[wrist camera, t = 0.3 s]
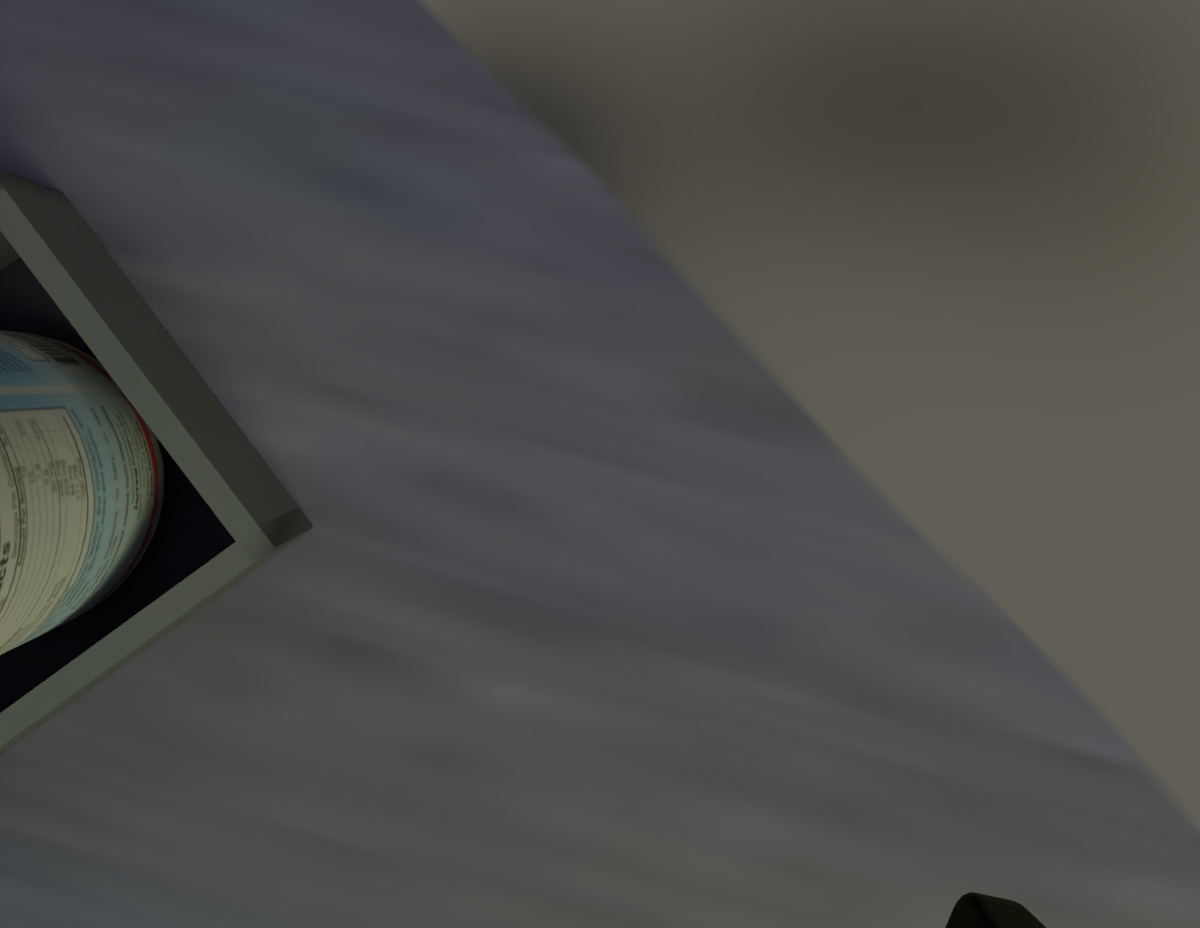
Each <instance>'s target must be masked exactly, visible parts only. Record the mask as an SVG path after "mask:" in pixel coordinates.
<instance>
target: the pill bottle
mask: <svg viewBox="0 0 1200 928" xmlns="http://www.w3.org/2000/svg"><path fill="white" fill-rule="evenodd" d="M163 498H164V468H163V460H162V455H161V451H160V447H159V443H158V440H157V437H156V435H155V434H154V433H153V431H152V430H151V429H150V427H149V426H148V425H147V424H146V422H145V421H144V420H143V418H142V417H141V416H140V414H139V413H138V412H137V410H136V409H135V408H134V406H133V405H132V404H131V402H130V401H129V400H128V398H127V397H126V396H125V394H124V393H123V392H122V390H121V389H120V388H119V387H118V385H117V384H116V383H115V381H114V380H113V379H112V377H111V376H110V375H109V373H108V372H107V371H106V369H105V368H104V367H103V365H102V364H101V363H100V362H99V361H98V360H96V359H95V358H93V357H92V356H90V355H89V354H87V353H85V352H83V351H81V350H79V349H77V348H75V347H73V346H71V345H69V344H66V343H64V342H61V341H58V340H55V339H51V338H48V337H44V336H40V335H35V334H30V333H21V332H13V331H5V330H0V655H1V654H3V653H5V652H7V651H9V650H11V649H13V648H16V647H18V646H20V645H22V644H24V643H26V642H28V641H30V640H32V639H34V638H36V637H38V636H40V635H42V634H44V633H46V632H48V631H51V630H53V629H55V628H57V627H59V626H61V625H63V624H65V623H68V622H69V621H71V620H73V619H75V618H77V617H79V616H80V615H82V614H84V613H86V612H87V611H89V610H91V609H92V608H94V607H95V606H97V605H98V604H99V603H101V602H102V601H104V600H105V599H106V598H107V597H108V596H109V595H110V594H112V593H113V592H114V591H115V590H116V589H117V588H118V587H119V586H120V585H121V584H122V583H123V582H124V581H125V580H126V579H127V577H128V576H129V575H130V574H131V572H132V571H133V570H134V569H135V567H136V566H137V564H138V563H139V561H140V560H141V558H142V557H143V555H144V553H145V552H146V550H147V548H148V546H149V544H150V542H151V540H152V538H153V536H154V533H155V530H156V527H157V525H158V521H159V518H160V514H161V509H162V505H163Z"/></svg>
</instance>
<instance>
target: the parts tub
mask: <svg viewBox="0 0 1200 928" xmlns="http://www.w3.org/2000/svg"><path fill="white" fill-rule="evenodd" d="M19 257H21V258H22V260H23V261H24V262H25V264H26V265H27V266H28V268H29V269H30V270H31V272H32V273H33V274H34V275H35V277H36V278H37V279H38V281H39V282H40V283H41V285H42V286H43V287H44V289H45V290H46V291H47V293H48V294H49V295H50V297H51V298H52V299H53V301H54V302H55V303H56V305H57V306H58V307H59V309H60V310H61V311H62V312H63V314H64V315H65V316H66V318H67V319H68V320H69V322H70V323H71V324H72V326H73V327H74V328H75V330H76V331H77V332H78V334H79V335H80V336H81V338H82V339H83V340H84V342H85V343H86V344H87V346H88V347H89V348H90V350H91V351H92V352H93V353H94V355H95V356H96V357H97V359H98V360H99V361H100V363H101V364H102V365H103V367H104V368H105V369H106V371H107V372H108V373H109V375H110V376H111V377H112V379H113V380H114V381H115V383H116V384H117V385H118V387H119V388H120V389H121V390H122V392H123V393H124V394H125V396H126V397H127V398H128V400H129V401H130V402H131V404H132V405H133V406H134V408H135V409H136V410H137V412H138V413H139V414H140V416H141V417H142V418H143V420H144V421H145V422H146V424H147V425H148V426H149V427H150V429H151V430H152V431H153V433H154V434H155V435H156V437H157V438H158V439H159V441H160V442H161V443H162V445H163V446H164V447H165V449H166V450H167V451H168V453H169V454H170V455H171V457H172V458H173V459H174V461H175V462H176V463H177V465H178V466H179V467H180V468H181V470H182V471H183V472H184V474H185V475H186V476H187V478H188V479H189V480H190V482H191V483H192V484H193V486H194V487H195V488H196V490H197V491H198V492H199V494H200V495H201V496H202V498H203V499H204V500H205V502H206V503H207V504H208V505H209V507H210V508H211V509H212V511H213V512H214V513H215V515H216V516H217V517H218V519H219V520H220V521H221V523H222V524H223V525H224V527H225V528H226V529H227V531H228V532H229V533H230V535H231V536H232V537H233V539H234V540H235V541H236V542H235V543H233V544H232V545H231V546H229V547H228V548H227V549H225V550H224V551H222V552H221V553H220V554H218V555H217V556H216V557H214V558H213V559H211V560H210V561H209V562H207V563H206V564H205V565H203V566H202V567H200V568H199V569H198V570H196V571H195V572H194V573H192V574H191V575H189V576H188V577H187V578H185V579H184V580H183V581H181V582H180V583H178V584H177V585H176V586H174V587H173V588H172V589H170V590H169V591H167V592H166V593H165V594H163V595H162V596H161V597H159V598H158V599H156V600H155V601H154V602H152V603H151V604H150V605H148V606H147V607H145V608H144V609H143V610H141V611H140V612H139V613H137V614H136V615H134V616H133V617H132V618H130V619H129V620H128V621H126V622H125V623H123V624H122V625H121V626H119V627H118V628H117V629H115V630H114V631H112V632H111V633H110V634H108V635H107V636H106V637H104V638H103V639H101V640H100V641H99V642H97V643H96V644H95V645H93V646H92V647H90V648H89V649H88V650H86V651H85V652H84V653H82V654H81V655H79V656H78V657H77V658H75V659H74V660H73V661H71V662H70V663H68V664H67V665H66V666H64V667H63V668H62V669H60V670H59V671H57V672H56V673H55V674H53V675H52V676H51V677H49V678H48V679H46V680H45V681H44V682H42V683H41V684H40V685H38V686H37V687H35V688H34V689H33V690H31V691H30V692H29V693H27V694H26V695H24V696H23V697H22V698H20V699H19V700H18V701H16V702H15V703H13V704H12V705H11V706H9V707H8V708H7V709H5V710H4V711H2V712H1V713H0V754H1V753H3V752H4V751H5V750H7V749H8V748H9V747H11V746H12V745H14V744H15V743H16V742H18V741H19V740H20V739H22V738H23V737H25V736H26V735H27V734H29V733H30V732H31V731H33V730H34V729H36V728H37V727H38V726H40V725H41V724H43V723H44V722H45V721H47V720H48V719H49V718H51V717H52V716H54V715H55V714H56V713H58V712H59V711H60V710H62V709H63V708H65V707H66V706H67V705H69V704H70V703H71V702H73V701H74V700H76V699H77V698H78V697H80V696H81V695H82V694H84V693H85V692H87V691H88V690H89V689H91V688H92V687H93V686H95V685H96V684H98V683H99V682H100V681H102V680H103V679H104V678H106V677H107V676H109V675H110V674H111V673H113V672H114V671H115V670H117V669H118V668H120V667H121V666H122V665H124V664H125V663H126V662H128V661H129V660H131V659H132V658H133V657H135V656H136V655H138V654H139V653H140V652H142V651H143V650H144V649H146V648H147V647H149V646H150V645H151V644H153V643H154V642H155V641H157V640H158V639H160V638H161V637H162V636H164V635H165V634H166V633H168V632H169V631H171V630H172V629H173V628H175V627H176V626H177V625H179V624H180V623H182V622H183V621H184V620H186V619H187V618H188V617H190V616H191V615H193V614H194V613H195V612H197V611H198V610H199V609H201V608H202V607H204V606H205V605H206V604H208V603H209V602H210V601H212V600H213V599H215V598H216V597H217V596H219V595H220V594H221V593H223V592H224V591H226V590H227V589H228V588H230V587H231V586H233V585H234V584H235V583H237V582H238V581H239V580H241V579H242V578H244V577H245V576H246V575H248V574H249V573H250V572H252V571H253V570H255V569H256V568H257V567H259V566H260V565H261V564H263V563H264V562H266V561H267V560H268V559H270V558H271V557H272V556H274V555H275V554H277V553H278V552H279V551H281V550H282V549H283V548H285V547H286V546H288V545H289V544H290V543H292V542H293V541H294V540H296V539H297V538H299V537H300V536H301V535H303V534H304V533H305V532H307V531H308V530H310V529H311V528H312V527H313V526H312V524H311V523H310V522H309V520H308V519H307V518H306V516H305V515H304V514H303V512H302V511H301V510H300V508H299V507H298V506H297V504H296V503H295V502H294V500H293V499H292V498H291V496H290V495H289V494H288V492H287V491H286V490H285V488H284V487H283V486H282V484H281V483H280V482H279V480H278V479H277V478H276V476H275V475H274V474H273V472H272V471H271V470H270V468H269V467H268V466H267V464H266V463H265V462H264V460H263V459H262V458H261V456H260V455H259V454H258V452H257V451H256V450H255V448H254V447H253V446H252V444H251V443H250V442H249V440H248V439H247V438H246V436H245V435H244V434H243V432H242V431H241V430H240V428H239V427H238V426H237V424H236V423H235V422H234V420H233V419H232V418H231V416H230V415H229V414H228V412H227V411H226V410H225V408H224V407H223V406H222V404H221V403H220V402H219V400H218V399H217V398H216V396H215V395H214V394H213V392H212V391H211V390H210V388H209V387H208V386H207V384H206V383H205V382H204V380H203V379H202V378H201V376H200V375H199V374H198V372H197V371H196V370H195V368H194V367H193V366H192V364H191V363H190V362H189V360H188V359H187V358H186V356H185V355H184V354H183V352H182V351H181V350H180V348H179V347H178V346H177V344H176V343H175V342H174V340H173V339H172V338H171V336H170V335H169V334H168V332H167V331H166V330H165V328H164V327H163V326H162V324H161V323H160V322H159V320H158V319H157V318H156V316H155V315H154V314H153V312H152V311H151V310H150V308H149V307H148V306H147V304H146V303H145V302H144V300H143V299H142V298H141V296H140V295H139V294H138V292H137V291H136V290H135V288H134V287H133V286H132V284H131V283H130V282H129V280H128V279H127V278H126V276H125V275H124V274H123V272H122V271H121V270H120V268H119V267H118V266H117V264H116V263H115V262H114V260H113V259H112V258H111V256H110V255H109V254H108V252H107V251H106V250H105V248H104V247H103V246H102V244H101V243H100V242H99V240H98V239H97V238H96V236H95V235H94V234H93V232H92V231H91V230H90V228H89V227H88V226H87V224H86V223H85V222H84V220H83V219H82V218H81V216H80V215H79V214H78V212H77V211H76V210H75V208H74V207H73V206H72V204H71V203H70V202H69V200H68V199H67V198H66V196H65V195H64V194H63V193H61V192H58V191H55V190H53V189H50V188H47V187H44V186H42V185H39V184H36V183H34V182H31V181H28V180H25V179H23V178H20V177H17V176H14V175H12V174H9V173H6V172H4V171H1V170H0V272H1V271H2V270H3V269H5V268H6V267H7V266H9V265H10V264H11V263H13V262H14V261H15V260H17V259H18V258H19Z"/></svg>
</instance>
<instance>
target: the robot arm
mask: <svg viewBox="0 0 1200 928" xmlns="http://www.w3.org/2000/svg"><path fill="white" fill-rule="evenodd" d="M946 928H1046V927H1045V926H1044V925H1043V924H1042V923H1041V922H1040V921H1039V920H1038V919H1037V918H1036V917H1035V916H1033V915H1032V914H1031V913H1030V912H1029V911H1028V910H1027V909H1026V908H1025V907H1024V906H1022V905H1021V904H1019V903H1017V902H1015V901H1012V900H1008V899H1003V898H998V897H993V896H989V895H984V894H979V893H974V892H970V893H968V894H965V895H963V896H962V897H961V898H960V899H959V900H958V901H957V903H956V905H955V906H954V908H953V911H952V913H951V915H950V918H949V920H948V923H947V925H946Z"/></svg>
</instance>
